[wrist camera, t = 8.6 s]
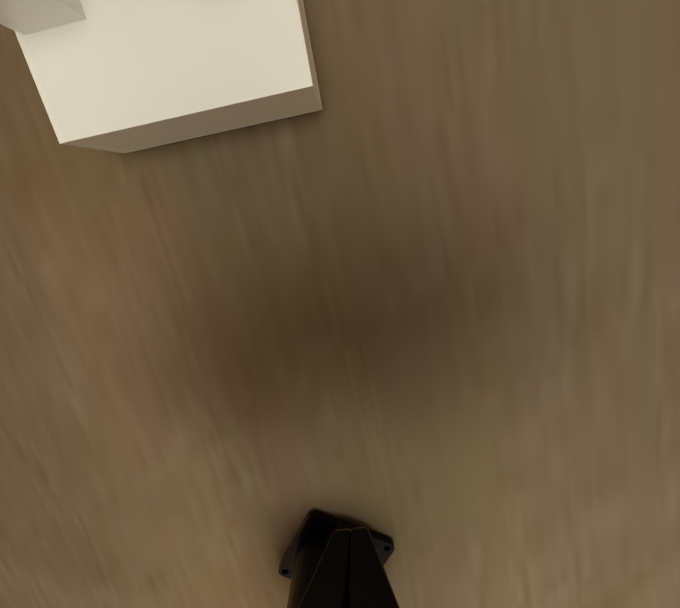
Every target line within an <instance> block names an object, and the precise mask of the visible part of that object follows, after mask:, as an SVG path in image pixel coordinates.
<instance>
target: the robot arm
mask: <svg viewBox="0 0 680 608" xmlns="http://www.w3.org/2000/svg"><path fill="white" fill-rule="evenodd" d="M393 551H394V542H393V540H392V539H390V538H388V537H385V536H382V535H380V534H377V533H374V532H372V531H369V529H368V528H367V527H358V526H356V525H353V524H351V523H348V522H345V521H343V520H340V519H337V518H335V517H332V516H329V515H327V514H324V513H321V512H319V511H311V512H310V513H309V514H308V516H307V517H306V519H305V521H304V523H303V524H302V526H301V528H300V530H299V531H298V533H297V535H296V537H295V538H294V540H293V542H292V544H291V545H290V547H289V549H288V551H287V552H286V554H285V556H284V558H283V559H282V561H281V563H280V566H279V571H278V572H279V574H280V575H282V576H284V577H287V578H290V579H292V580H291V586H290V592H289V598H288V604H287V608H399V605H398V603H397V600H396V598H395V595H394V593H393V590H392V588H391V585H390V582H389V580H388V577H387V575H386V572H385V570H384V567H383V565H384V564H385V562H386V561H387V559H388V558H389V557H390V555H391V554H392V552H393Z"/></svg>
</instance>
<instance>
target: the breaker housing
mask: <svg viewBox="0 0 680 608" xmlns="http://www.w3.org/2000/svg"><path fill="white" fill-rule="evenodd" d="M0 24H1V25H4V26H6V27H8V28H10V29H12V30H14V31H15V33H16V36H17V38H18V41H19V43H20V46H21V48H22V51H23V53H24V56H25V58H26V61H27V63H28V66H29V68H30V71H31V73H32V76H33V78H34V81H35V83H36V86H37V88H38V91H39V93H40V96H41V98H42V101H43V103H44V106H45V108H46V111H47V113H48V116H49V118H50V121H51V123H52V126H53V128H54V131H55V133H56V136H57V138H58V141H59V143H60V144H65V145H72V146H79V147H85V148H92V149H99V150H105V151H112V152H119V153H129V152H134V151H138V150H143V149H148V148H152V147H157V146H161V145H166V144H170V143H175V142H179V141H184V140H188V139H193V138H197V137H202V136H206V135H211V134H216V133H220V132H225V131H229V130H234V129H238V128H243V127H247V126H252V125H256V124H261V123H265V122H270V121H274V120H279V119H284V118H288V117H293V116H297V115H302V114H306V113H311V112H315V111H320V110H323V108H322V103H321V97H320V92H319V86H318V81H317V75H316V69H315V64H314V58H313V53H312V47H311V42H310V36H309V31H308V25H307V19H306V14H305V8H304V3H303V0H0Z"/></svg>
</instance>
